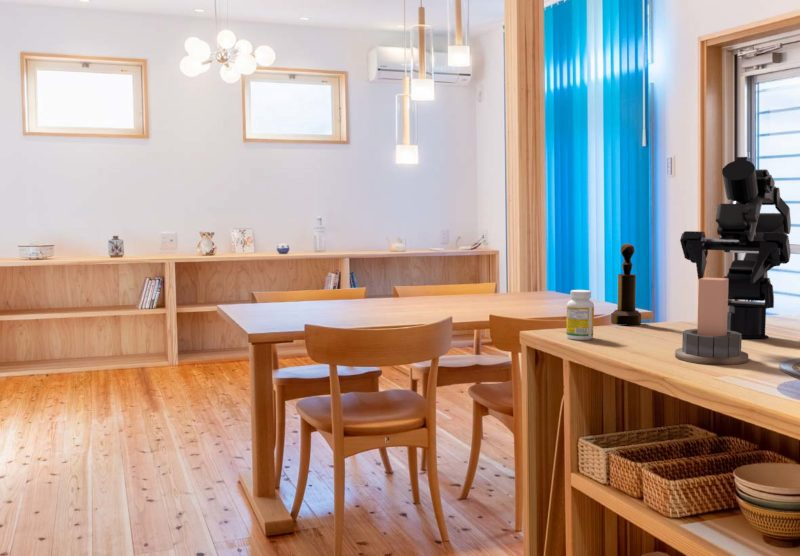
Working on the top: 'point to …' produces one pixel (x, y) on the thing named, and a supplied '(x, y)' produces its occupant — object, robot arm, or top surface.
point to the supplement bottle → (580, 315)
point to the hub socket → (711, 349)
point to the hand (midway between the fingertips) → (725, 280)
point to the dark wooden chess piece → (626, 292)
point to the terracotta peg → (712, 306)
